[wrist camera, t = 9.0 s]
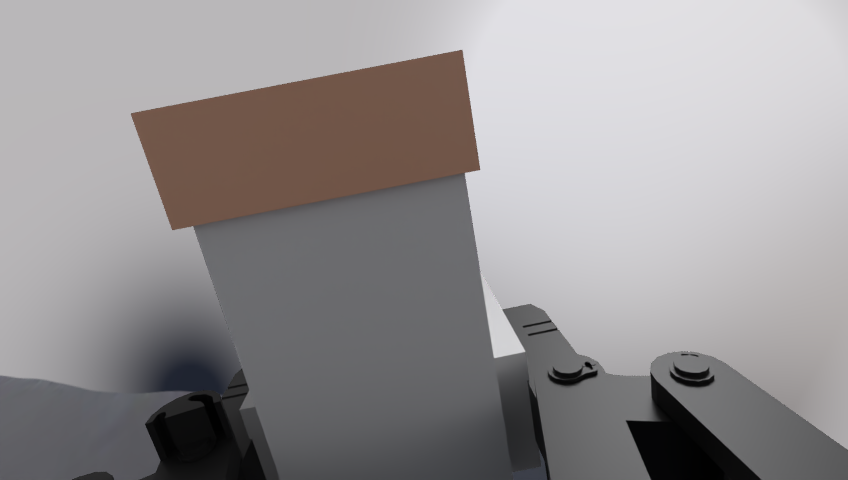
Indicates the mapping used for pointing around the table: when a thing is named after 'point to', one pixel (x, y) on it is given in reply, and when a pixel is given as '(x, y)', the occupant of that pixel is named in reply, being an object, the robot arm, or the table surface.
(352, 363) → the plug
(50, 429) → the table surface
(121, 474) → the table surface
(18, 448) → the table surface
